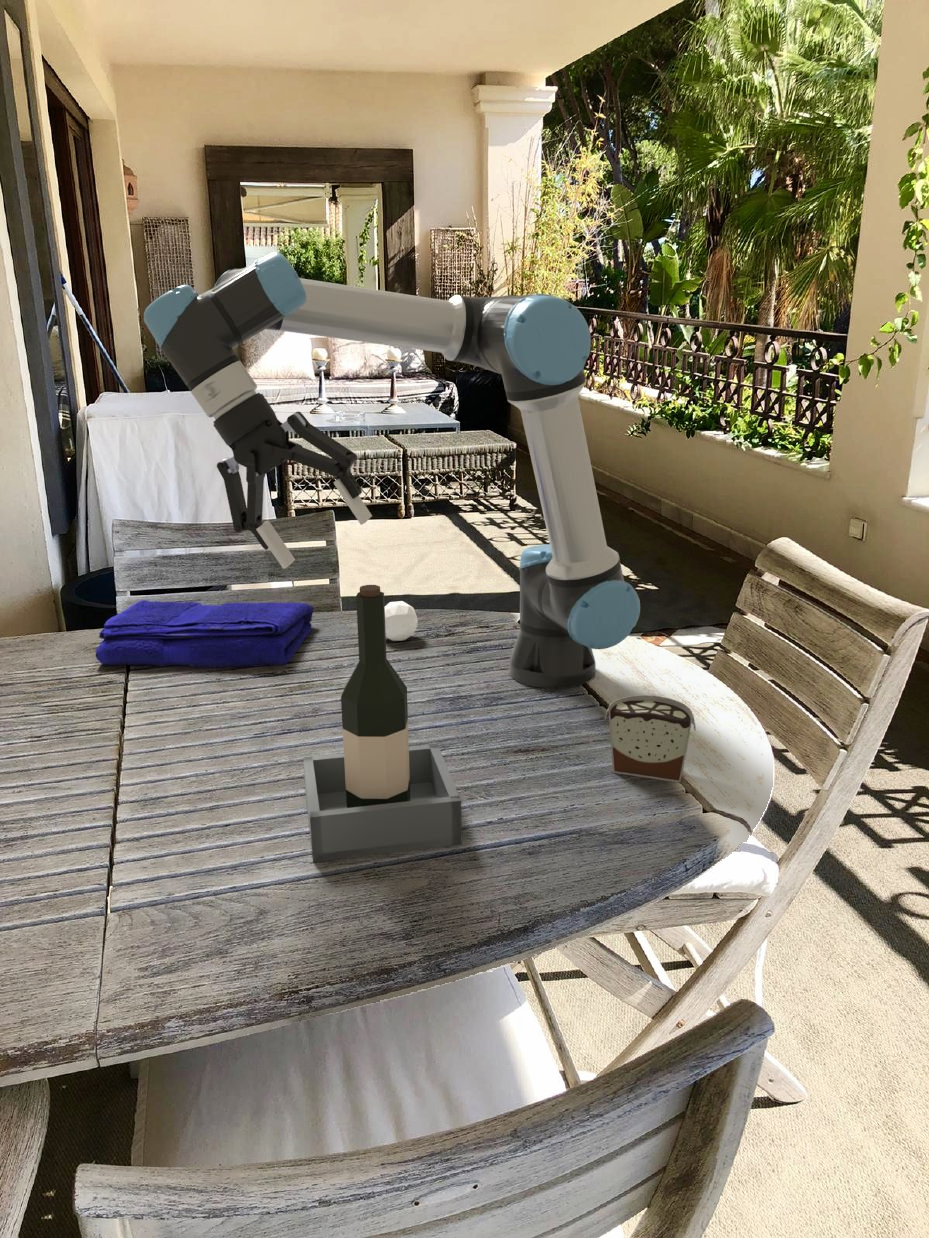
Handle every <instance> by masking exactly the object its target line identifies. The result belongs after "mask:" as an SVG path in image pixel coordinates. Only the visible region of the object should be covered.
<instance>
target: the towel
mask: <svg viewBox="0 0 929 1238" xmlns="http://www.w3.org/2000/svg"><path fill="white" fill-rule="evenodd" d="M314 609H315V608H314V606H313V605H311V604H308V603H305V602H273V601H272V602H227V603H224V604H220V605H218V604H217V605H204V604H201V603H200V602H196V601H185V602H180V601H179V602H178V601H149V600H146V599H144V600H143V599H142V600H139V601H137V602H135V603H134V604H131V605H130V606H129V607H127V608H126V609H125V610H122V611H121V612H120V613H118V614H117V615H114V616H112V617H110V618H109V619H107V620H106V621H105V623H104V625H103V627H104V628H102V630H100V632H99V633H98V635H99V636H98V638H100V639H102V641H101V642H100V644H99V645H98V647H97V648H96V649H95V658H96V660H97V661H98V662H99V663H100V664H101V665H104V666H105V665H106V666H107V665H110V666H124V665H125V666H149V665H150V666H154V667H157V666H158V667H167V666H172V665H173V666H174V665H176V666H191V667H193V668H228V667H229V668H243V667H247V668H249V667H261V666H263V667H264V666H265V667H266V666H283V665H284V666H285V665H287V664H288V663H290V661H291V660H292V658H293V657H294V655H295V654H296V652H297V651H298V649H299V647H301V645H302V643H303V642H304V641H305V640H306V638H307V637H308V635H309V634H310V633H311V630H312V623H311V622H312V620H313V618H312V616H313V613H314V612H315V610H314Z"/></svg>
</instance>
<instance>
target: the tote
mask: <svg viewBox="0 0 929 1238" xmlns="http://www.w3.org/2000/svg"><path fill="white" fill-rule="evenodd" d="M302 760H303V774H304V775H303V777H304V788H305V789H304V790H305V791H304V792H305V803H306V811H307V812H306V813H307V819H308V820H307V821H308V829H309V837H310V845H311V846H310V848H311V855H312V856H311V857H312V862H313V863H316V862H323V861H325V862H326V861H332V860H341V859H349V858H358V857H359V858H360V857H366V856H375V855H382V854H383V855H385V854H391V853H400V852H407V851H409V852H410V851H416V850H424V849H433V848H434V849H435V848H441V847H451V846H457V845H462V844H463V841H462V839H463V838H462V837H463V835H462V799H461V797H460V794H459V792H458V790H457V787H456V784H455V783H454V780H453V777H452V776H451V773H450V770H449V768H448V766H447V763H446V761H445V759H444V757H443V754H442V751H441V749H440V747H439V744H438V743H435V744H434V743H433V744H423V745H422V744H421V745H412V746H409V770H410V801H407V802H398V803H389V804H380V805H371V806H361V807H352V808H347V801H346V783H345V764H344V752H341V753H340V752H339V753H332V754H331V753H330V754H322V755H311V756H303V758H302Z"/></svg>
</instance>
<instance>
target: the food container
mask: <svg viewBox="0 0 929 1238" xmlns="http://www.w3.org/2000/svg"><path fill="white" fill-rule="evenodd" d="M607 718H608V723H609V738H610V750H611V751H610V753H611V765H612V774H619V775H626V776H634V777H638V778H639V777H641V778H646V779H655V780H661V781H667V782H673V783H681V782H682V776H683V773H684V772H683V771H684V765H685V762H686V761H685V760H686V755H687V749H688V745H689V739H690V733H691V729H692V728H691V727H692V726H693V731H694V732H696V729H697V728H696V722H695V716H694V714H693V712H692V710H691V708H690V707H688V705H686V704H684V703H682V702H681V701H679V700H675V699H672V698H670V697H665V696H660V695H651V694H649V695H646V694H638V695H629V696H624V697H621V698H618V699H616V700H613V701H612V702H611V703H609V705H608V708H607V709H606V712H605V715H604V720H606V719H607Z"/></svg>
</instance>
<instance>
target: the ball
mask: <svg viewBox="0 0 929 1238" xmlns="http://www.w3.org/2000/svg"><path fill="white" fill-rule="evenodd" d="M418 623H419V618H418V616H417V614H416V611H415V608H414V607H413V606H411V605H410V604H408V603H407V602H405V601H403V600H399V601H390V602H388V603H387V604H386V605H385V630H386V639H389V640H391V641H392V642H399V641H401V642H402V641H406V640H407V639H409V638H410V637H411V636H412V635H413V634H414V633H415V632H416V630H417V628H418Z"/></svg>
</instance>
